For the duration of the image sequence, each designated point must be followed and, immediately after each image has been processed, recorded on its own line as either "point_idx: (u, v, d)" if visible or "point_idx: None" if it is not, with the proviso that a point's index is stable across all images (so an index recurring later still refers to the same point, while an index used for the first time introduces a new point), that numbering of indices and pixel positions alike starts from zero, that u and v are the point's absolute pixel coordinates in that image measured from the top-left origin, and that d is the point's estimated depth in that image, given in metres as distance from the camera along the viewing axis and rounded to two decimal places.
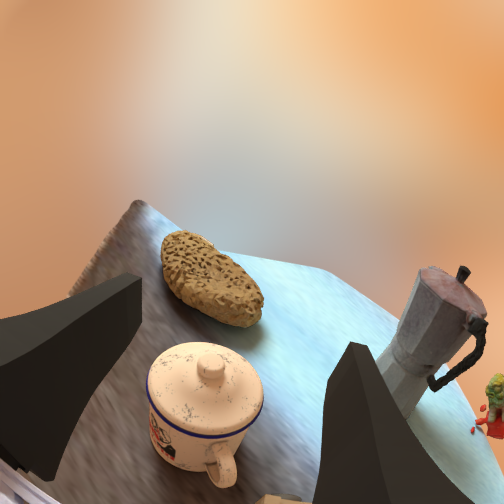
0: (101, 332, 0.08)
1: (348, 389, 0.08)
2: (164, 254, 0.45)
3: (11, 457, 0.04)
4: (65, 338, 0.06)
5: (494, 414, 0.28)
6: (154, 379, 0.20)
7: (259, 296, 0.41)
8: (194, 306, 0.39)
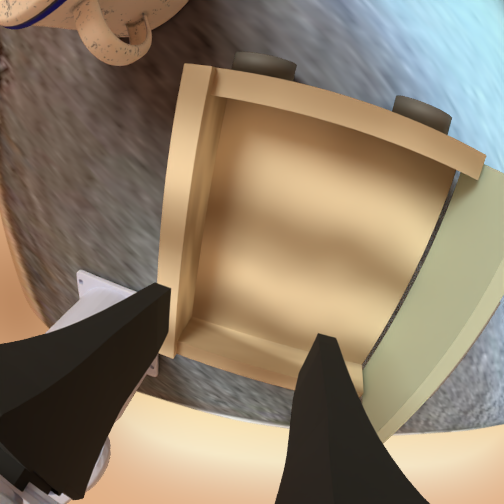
0: (133, 347, 0.08)
1: (312, 381, 0.08)
2: None
3: (44, 482, 0.04)
4: (100, 356, 0.06)
5: None
6: None
7: None
8: None
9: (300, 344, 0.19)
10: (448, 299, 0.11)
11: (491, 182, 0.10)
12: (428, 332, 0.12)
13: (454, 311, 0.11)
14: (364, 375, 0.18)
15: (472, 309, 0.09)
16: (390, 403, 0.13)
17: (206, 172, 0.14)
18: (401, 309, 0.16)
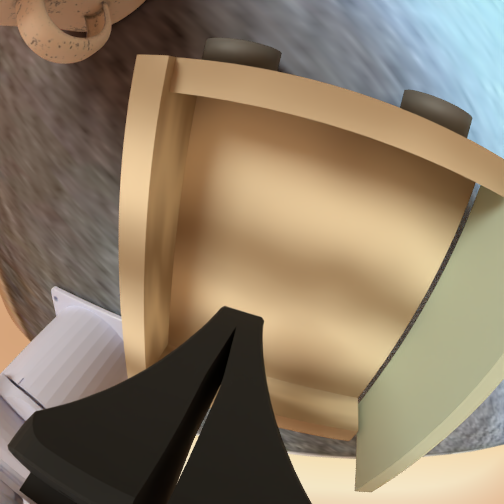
0: (214, 377, 0.08)
1: None
2: None
3: None
4: (196, 397, 0.06)
5: None
6: None
7: None
8: None
9: (288, 377, 0.17)
10: (462, 343, 0.09)
11: None
12: (435, 378, 0.10)
13: (469, 360, 0.08)
14: (360, 410, 0.16)
15: (492, 362, 0.07)
16: (387, 451, 0.11)
17: (171, 186, 0.12)
18: (404, 342, 0.14)
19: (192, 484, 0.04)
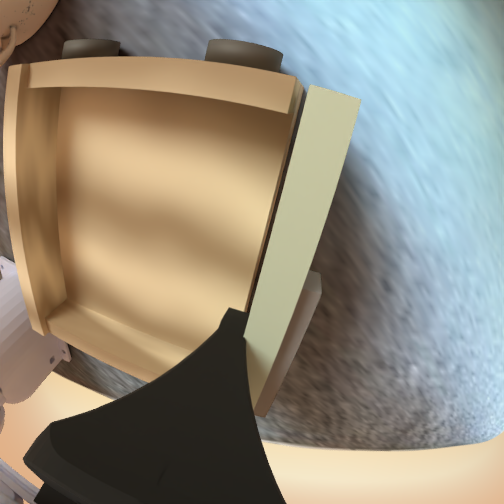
0: None
1: None
2: None
3: None
4: None
5: None
6: None
7: None
8: None
9: (158, 333, 0.17)
10: None
11: None
12: None
13: None
14: None
15: (253, 301, 0.08)
16: None
17: (42, 157, 0.13)
18: None
19: (163, 474, 0.04)
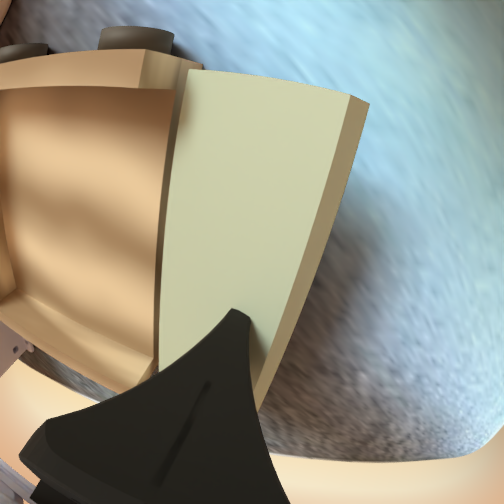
0: None
1: None
2: None
3: None
4: None
5: None
6: None
7: None
8: None
9: (88, 323, 0.16)
10: (231, 282, 0.09)
11: (250, 96, 0.07)
12: None
13: (251, 298, 0.09)
14: None
15: (285, 294, 0.08)
16: None
17: None
18: (162, 297, 0.13)
19: (167, 476, 0.04)
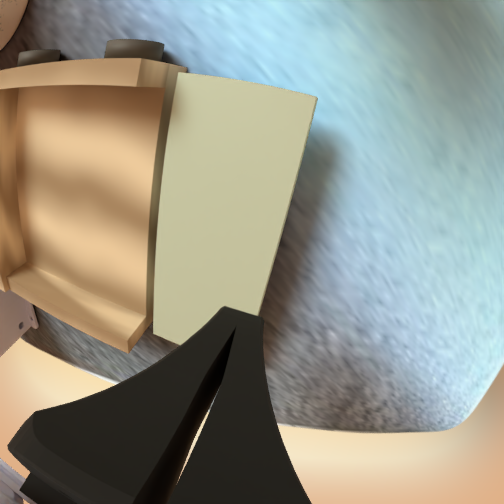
0: (213, 377, 0.08)
1: None
2: None
3: None
4: (196, 397, 0.06)
5: None
6: None
7: None
8: None
9: (90, 287, 0.19)
10: (237, 217, 0.14)
11: (244, 94, 0.11)
12: (230, 254, 0.15)
13: (256, 223, 0.14)
14: (162, 332, 0.18)
15: (283, 212, 0.13)
16: None
17: (4, 142, 0.14)
18: (159, 256, 0.16)
19: (192, 485, 0.04)
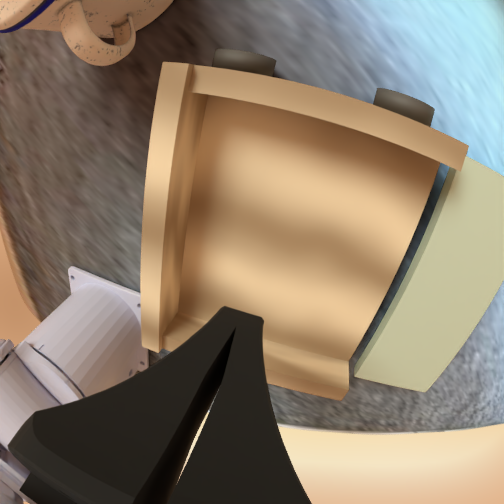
0: (214, 377, 0.08)
1: None
2: None
3: None
4: (196, 397, 0.06)
5: None
6: None
7: None
8: None
9: (285, 339, 0.19)
10: (475, 280, 0.14)
11: None
12: (460, 307, 0.15)
13: (485, 284, 0.14)
14: (366, 374, 0.19)
15: (503, 276, 0.13)
16: (439, 360, 0.17)
17: (187, 167, 0.14)
18: (398, 311, 0.16)
19: (192, 484, 0.04)
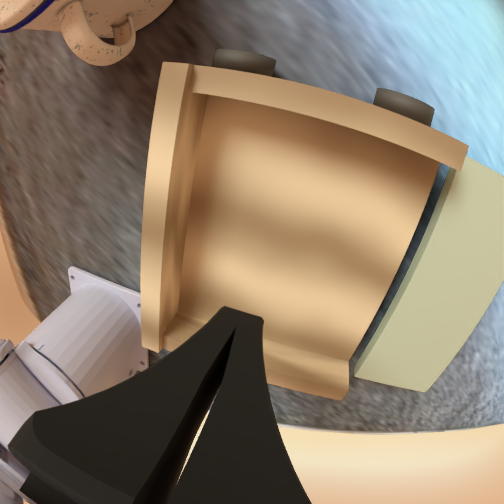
0: (214, 377, 0.08)
1: None
2: None
3: None
4: (196, 397, 0.06)
5: None
6: None
7: None
8: None
9: (285, 339, 0.19)
10: (475, 280, 0.14)
11: None
12: (460, 307, 0.15)
13: (485, 284, 0.14)
14: (366, 374, 0.19)
15: (503, 276, 0.13)
16: (439, 360, 0.17)
17: (187, 167, 0.14)
18: (398, 311, 0.16)
19: (192, 484, 0.04)
